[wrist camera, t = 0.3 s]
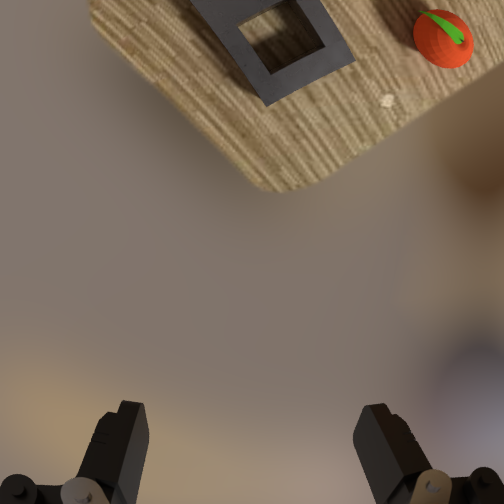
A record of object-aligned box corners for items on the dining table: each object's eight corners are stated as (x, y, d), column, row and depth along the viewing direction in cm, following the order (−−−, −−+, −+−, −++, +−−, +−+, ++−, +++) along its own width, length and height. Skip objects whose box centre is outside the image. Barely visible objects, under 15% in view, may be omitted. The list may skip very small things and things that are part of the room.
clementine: (385, 34, 26) (415, 33, 21) (411, -7, 23) (444, -13, 17) (434, 76, 29) (469, 86, 23) (458, 37, 25) (495, 41, 19)
